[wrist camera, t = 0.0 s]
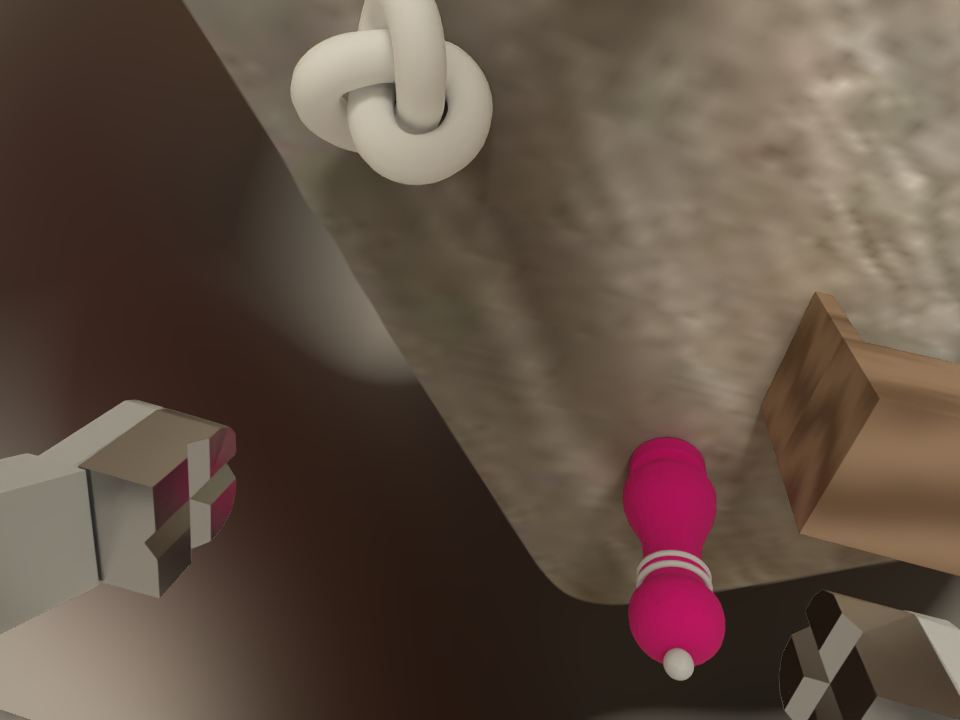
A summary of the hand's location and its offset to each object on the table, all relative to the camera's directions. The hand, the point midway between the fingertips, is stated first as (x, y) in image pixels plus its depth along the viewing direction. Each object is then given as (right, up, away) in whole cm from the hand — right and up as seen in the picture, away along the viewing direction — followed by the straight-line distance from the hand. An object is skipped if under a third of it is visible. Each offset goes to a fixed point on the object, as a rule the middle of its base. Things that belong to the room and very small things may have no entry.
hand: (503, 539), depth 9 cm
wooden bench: (+32, +1, +37) cm, 49 cm away
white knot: (-5, +22, +35) cm, 42 cm away
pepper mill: (+16, -7, +46) cm, 49 cm away
